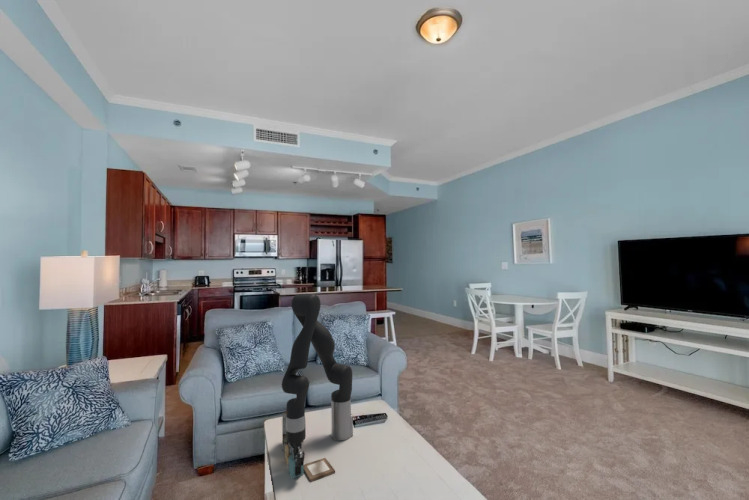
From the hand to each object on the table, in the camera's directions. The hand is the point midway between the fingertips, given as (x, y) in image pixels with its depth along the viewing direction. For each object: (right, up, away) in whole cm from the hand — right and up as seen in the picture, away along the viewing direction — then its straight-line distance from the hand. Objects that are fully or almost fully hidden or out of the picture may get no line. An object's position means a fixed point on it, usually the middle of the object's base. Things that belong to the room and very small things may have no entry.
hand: (296, 471), depth 130 cm
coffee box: (-6, -2, +20) cm, 21 cm away
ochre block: (-4, -1, +8) cm, 9 cm away
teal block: (0, -1, 0) cm, 1 cm away
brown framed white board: (+8, -1, +1) cm, 9 cm away
